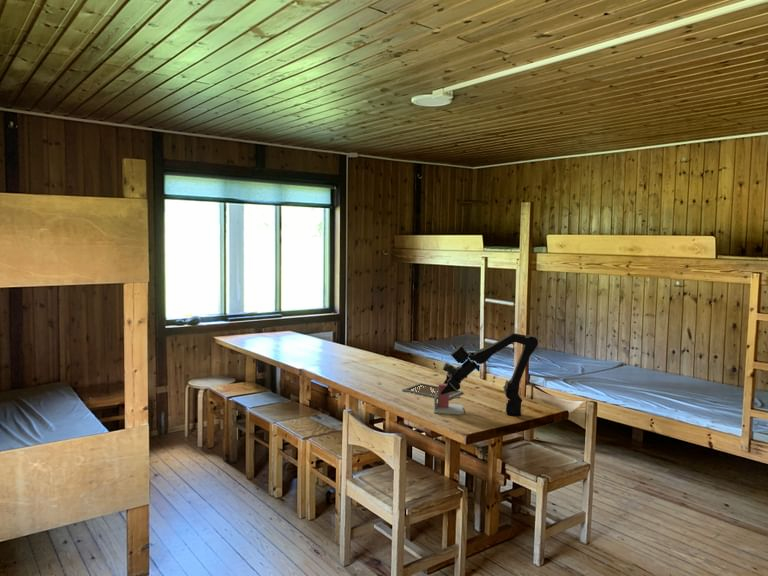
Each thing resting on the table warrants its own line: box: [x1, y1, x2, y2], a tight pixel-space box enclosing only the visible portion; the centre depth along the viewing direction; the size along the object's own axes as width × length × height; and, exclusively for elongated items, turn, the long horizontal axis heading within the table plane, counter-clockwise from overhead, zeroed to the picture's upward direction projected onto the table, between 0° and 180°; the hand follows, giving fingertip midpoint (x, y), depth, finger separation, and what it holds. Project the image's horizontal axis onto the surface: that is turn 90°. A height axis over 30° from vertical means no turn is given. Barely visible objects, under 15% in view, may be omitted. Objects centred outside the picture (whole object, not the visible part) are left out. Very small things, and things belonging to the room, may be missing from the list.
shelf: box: [433, 391, 465, 415], centre depth 277 cm, size 14×12×8 cm
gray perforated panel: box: [401, 382, 464, 400], centre depth 309 cm, size 19×2×30 cm
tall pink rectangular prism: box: [437, 383, 450, 408], centre depth 277 cm, size 5×4×11 cm
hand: (440, 391), depth 277 cm, fingers open, 9 cm apart
